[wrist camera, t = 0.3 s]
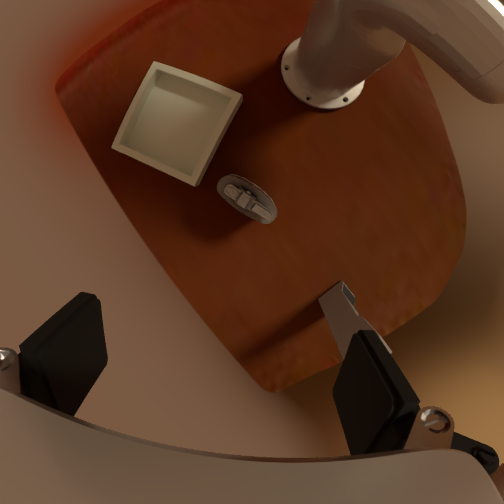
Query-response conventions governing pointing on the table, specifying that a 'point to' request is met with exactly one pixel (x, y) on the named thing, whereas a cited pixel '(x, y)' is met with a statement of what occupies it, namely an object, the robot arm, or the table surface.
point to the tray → (177, 122)
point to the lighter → (247, 198)
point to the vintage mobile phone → (343, 316)
